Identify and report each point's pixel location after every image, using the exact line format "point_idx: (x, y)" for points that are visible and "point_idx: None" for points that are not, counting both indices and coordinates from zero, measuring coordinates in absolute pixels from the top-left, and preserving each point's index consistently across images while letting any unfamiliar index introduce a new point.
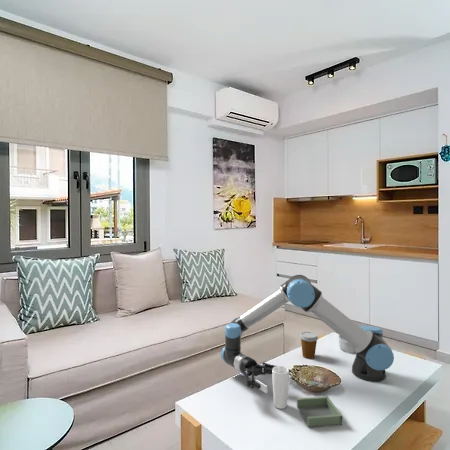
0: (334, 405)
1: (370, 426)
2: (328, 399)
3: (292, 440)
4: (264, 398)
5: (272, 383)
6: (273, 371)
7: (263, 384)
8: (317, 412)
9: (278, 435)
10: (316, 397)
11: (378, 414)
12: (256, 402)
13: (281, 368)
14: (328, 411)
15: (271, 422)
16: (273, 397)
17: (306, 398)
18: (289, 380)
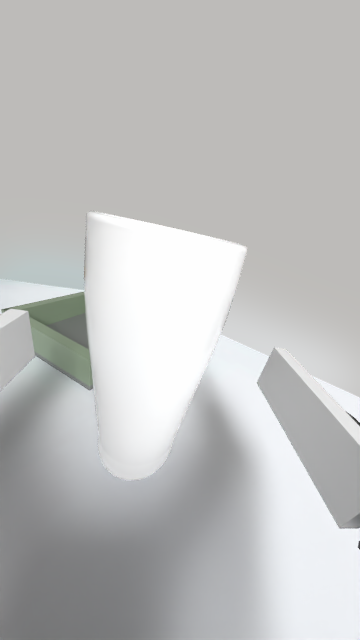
0: (58, 297)
1: (66, 288)
2: (26, 306)
3: (220, 341)
4: (148, 630)
5: (205, 367)
6: (247, 249)
7: (301, 370)
8: (87, 337)
9: (242, 361)
10: (32, 325)
11: (6, 283)
12: (250, 613)
13: (99, 243)
14: (61, 324)
15: (238, 396)
16: (173, 437)
17: (65, 340)
18: (28, 346)
